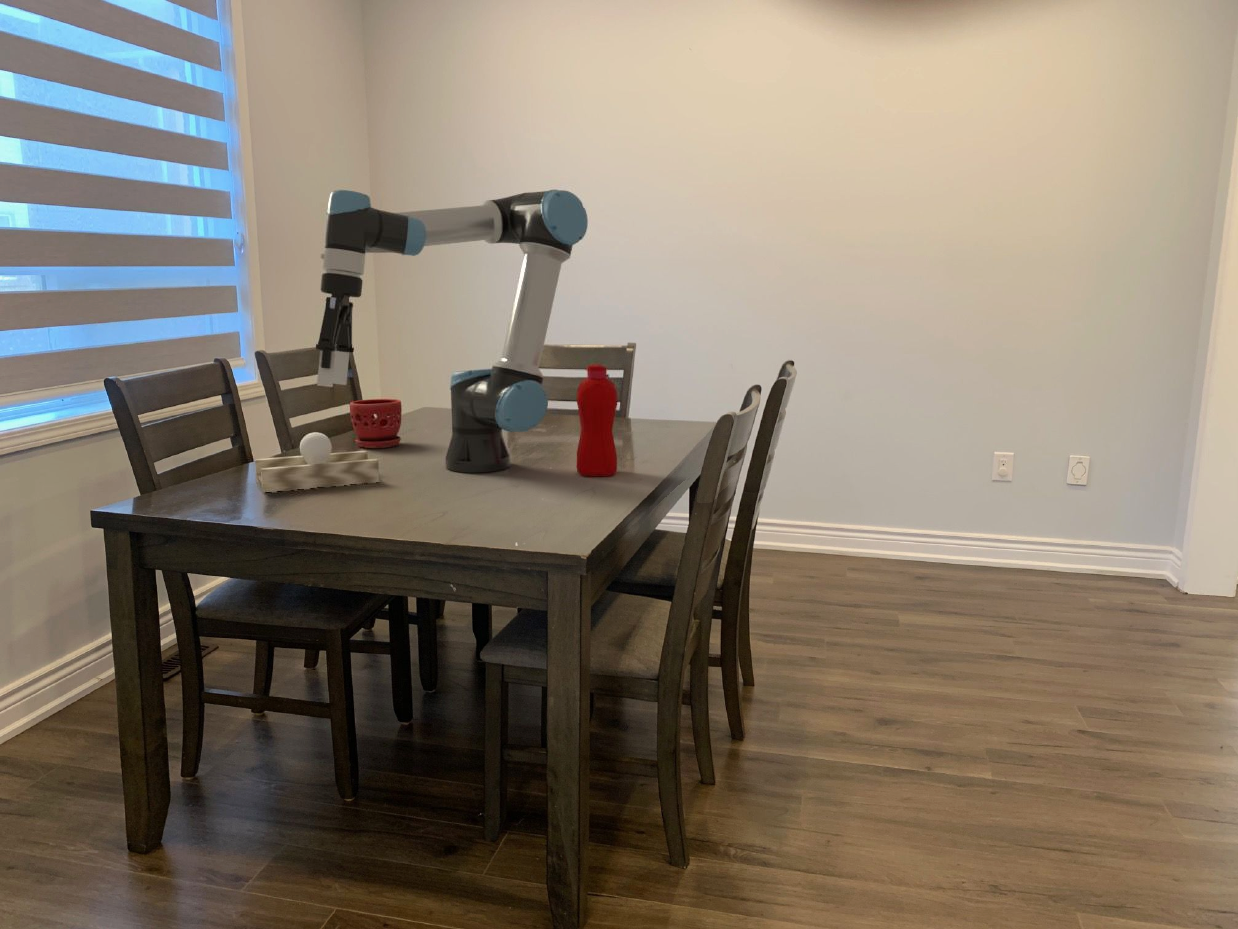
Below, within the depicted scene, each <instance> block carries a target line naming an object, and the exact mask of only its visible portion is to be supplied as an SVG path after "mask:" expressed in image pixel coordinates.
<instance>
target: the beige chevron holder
mask: <svg viewBox="0 0 1238 929" xmlns="http://www.w3.org/2000/svg"><path fill="white" fill-rule="evenodd" d="M379 465H380V464H379V459H378V458H372V459H371V458H369V459H368V451H367V450H357V451H343V452H331V454H330V456H329V457H328V459H327V461H326V463H320V464H307V462H306V461H305V459H304V458H303V456H302V455H296V456H295V455H293V456H279V457H269V458H267V457H266V458H256V459H254V471H255V482H256V481H257V482H256V484H257V483H258V484H259V486H260V487H259V486H258V487H259V489H260V488H261V489H260V490H261V492H262V491H263V492H264V493H263V492H262V493H263V494H266V493H265V492H272V493H278V492H277V491H283V492H292V491H291V490H294V491H298V490H297V489H304V490H311V489H310V488H315V489H318V488H317V487H325V488H332V487H331V486H336V487H344V485H347V486H351V485H350V484H357V485H365V484H364V483H368V484H375V483H376V482H379V483H380V468H379ZM362 483H363V484H362ZM258 484H257V485H258Z"/></svg>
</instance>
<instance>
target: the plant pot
mask: <svg viewBox="0 0 1238 929" xmlns="http://www.w3.org/2000/svg"><path fill="white" fill-rule="evenodd" d="M402 410H403V409H402V401H401V400H400V399H395V398H377V399H375V398H373V399H372V398H371V399H361V400H360V399H359V400H356V401H351V402H349V413H350V414H349V415H350V420H351V424H352V428H353V430H354V432H355V435H356V436H357V438H356V439H355V440H354V441H355V443H356V444H357V446H359V447H361V448H362V447H364V448H367V449H385V448H393V447H394V446H396V445H399V443H400V441H402V439H401V438H402V437H401V436H398V434H399V432H400V429H401V425H402ZM375 415H376V417H375Z"/></svg>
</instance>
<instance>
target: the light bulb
mask: <svg viewBox="0 0 1238 929" xmlns="http://www.w3.org/2000/svg"><path fill="white" fill-rule="evenodd" d="M332 450H333V448H332V442H331V440H330V438H329V437H328V436H327V435H325V434H324V433H323V432H322V433H321V432H309V433H307V434H306V435H304V436H303V438H302V439H301V441H300V443H299V452H300V456H303V458H304V459H305V461H306V462H307V464H320V463H326V461H327V459H328V457H329V456H330V454H331V453H332Z"/></svg>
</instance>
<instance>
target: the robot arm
mask: <svg viewBox="0 0 1238 929" xmlns="http://www.w3.org/2000/svg"><path fill="white" fill-rule="evenodd" d="M587 214H588V213H587V210H586V208H585V207H584V205H583V202H582V200H581V199H580V198H579V197H578V196H577V195H576V194H575V193H573V192H571V191H568V190H563V189H562V190H558V189H550V190H544V191H533V192H531V191H529V192H523V193H517V194H513V195H511V196H507V197H506V196H505V197H501V198H497V199H489V200H484V201H482V202H481V203H480V205H472V206H462V207H461V206H460V207H459V206H458V207H449V208H438V209H437V208H436V209H422V210H412V211H401V212H391V211H385V210H383V209H382V210H380V209H377V208H374V207H372V204H371V197H370V196H369V195H368V194H365V193H361V192H358V191H353V190H347V189H335V190H333V191H332V192H331V193H330V195H329V200H328V204H327V211H326V229H325V241H324V251H323V252H324V253H321V254H320V259H322V260H323V261H322V269H323V270H324V271H325V272H324V273H322V274H321V279H320V281H321V282H320V292H322V293H324V294H328V295H331V296H326V298H325V307H324V308H325V309H324V314H323V319H322V323H321V328H320V332H319V337H318V341H317V343H316V344H315V350H318V351H319V358H318V359H319V360H318V371H317V380H316V381H317V382H316V383H317V384H316V386H317V387H319V386H320V387H328V388H333V386H334V384H335V385H343V386H347V383H348V372H349V371H348V370H349V362H350V353H354V351H355V348H354V347H353V308H354V302H351V301H350V298H360V297H361V296H362V290H363V279H362V277H361V276H364V273H365V264H366V263H365V261H366V254H367V253H368V254H372V253H374V254H375V253H378V254H380V253H385V254H386V253H394V254H399V255H401V256H405V255H406V256H411V257H415V256H418V255H420V253H421V252H422V251H423V250H424V247H429V246H430V247H431V246H440V245H450V244H457V243H468V242H477V241H479V242H480V241H484V242H486V243H488V244H491V245H492V244H516V245H519V248H520V250H521V251H522V253H523V258H522V263H521V267H520V273H519V277H518V281H517V286H516V289H515V294H514V298H513V299H514V300H513V304H512V308H511V313H510V316H509V321H508V326H507V331H506V336H505V340H504V344H503V349H502V353H501V357H500V359H499V360H498V361H497V362H495V363H494V364H492V367H491V368H483V369H469V370H460V371H458V370H457V371H455V372H453V373H452V375H451V377H450V387H449V389H450V404H451V405H450V406H451V410H450V411H451V433H452V434H451V438H450V441H449V445H448V448H447V452H446V455H445V457H444V458H445V462H444V463H445V468H446V469H447V470H449V471H453V472H458V473H459V472H460V473H490V472H499V471H503V470H506V469H508V468H510V466H511V458H510V454H509V450H508V448H507V444H506V442H505V438H504V436H503V431H505V432H511V433H515V432H516V433H525V432H528V431H532V430H533V429H534V428H536V427H537V426H538V425H539V424H540V423H541V422H542V421H543V419H544V418H545V415H546V413H547V410H548V406H549V399H548V395H547V394H546V389H545V388H544V386H543V383H544V382H543V381H544V378H545V377H544V375H543V373H542V372H541V370H540V365H541V360H542V354H543V351H544V350H543V349H544V346H545V340H546V338H547V331H548V327H549V324H550V318H551V314H552V310H553V309H552V308H553V304H554V299H555V295H556V292H557V291H556V290H557V287H558V282H559V277H560V273H561V268H562V265H563V263H565V262H566V261H567V260H569V259H570V258H571V255H572V250H573V246H574V245H576V244H578V243H579V242H580V241H582V240H583V239H584V237H585V235H586V233H587V230H588V222H589V220H588V215H587Z"/></svg>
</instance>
